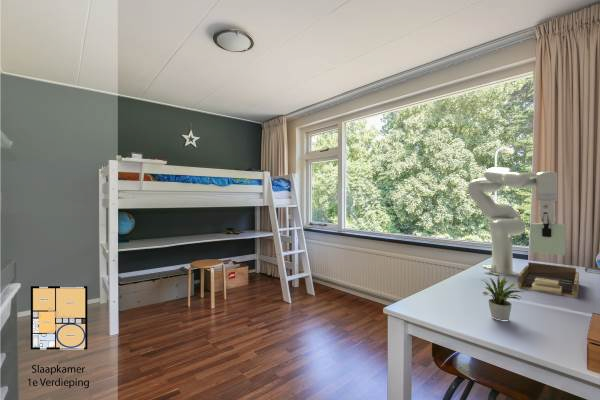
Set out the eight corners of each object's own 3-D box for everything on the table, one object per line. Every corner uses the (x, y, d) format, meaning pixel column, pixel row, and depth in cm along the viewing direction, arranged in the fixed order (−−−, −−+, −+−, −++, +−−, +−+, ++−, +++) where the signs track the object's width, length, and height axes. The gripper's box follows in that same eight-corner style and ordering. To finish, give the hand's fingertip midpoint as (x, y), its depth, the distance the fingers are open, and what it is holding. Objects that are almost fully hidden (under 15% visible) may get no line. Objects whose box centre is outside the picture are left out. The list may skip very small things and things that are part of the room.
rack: (577, 300, 118) (577, 279, 118) (518, 290, 132) (517, 271, 132) (579, 286, 135) (578, 268, 135) (526, 278, 150) (526, 261, 149)
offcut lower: (561, 295, 122) (561, 289, 122) (531, 290, 129) (531, 284, 129) (562, 291, 126) (562, 286, 126) (533, 287, 133) (533, 281, 133)
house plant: (491, 328, 96) (490, 281, 95) (467, 312, 109) (466, 271, 109) (532, 327, 96) (532, 280, 95) (503, 311, 110) (502, 270, 109)
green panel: (564, 255, 127) (564, 224, 126) (530, 251, 135) (530, 223, 135) (564, 254, 129) (564, 224, 128) (531, 250, 137) (531, 222, 137)
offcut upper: (558, 288, 123) (558, 283, 123) (534, 284, 129) (534, 279, 129) (559, 286, 126) (558, 280, 126) (536, 282, 132) (536, 277, 132)
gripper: (556, 198, 123) (556, 239, 124) (558, 197, 134) (559, 234, 135) (534, 198, 129) (534, 237, 129) (538, 197, 140) (538, 233, 140)
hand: (547, 235), depth 132 cm, fingers closed on green panel, 3 cm apart
